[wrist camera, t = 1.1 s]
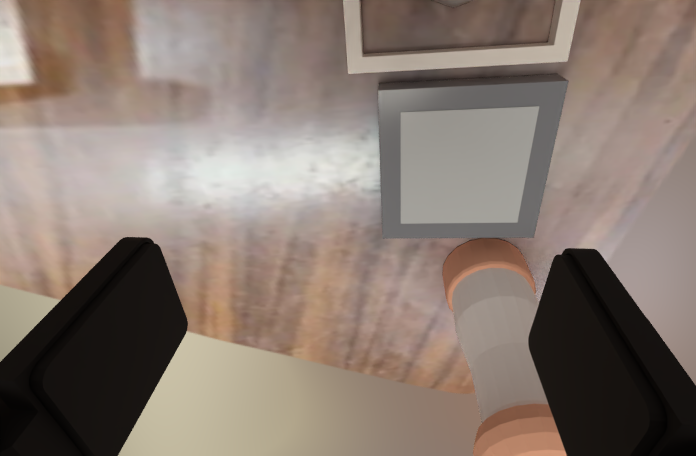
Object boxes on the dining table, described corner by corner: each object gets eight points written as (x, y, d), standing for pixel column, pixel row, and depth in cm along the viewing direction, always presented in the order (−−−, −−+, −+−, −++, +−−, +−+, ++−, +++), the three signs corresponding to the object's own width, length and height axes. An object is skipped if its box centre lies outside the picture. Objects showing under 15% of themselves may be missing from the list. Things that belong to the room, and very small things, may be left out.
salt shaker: (453, 232, 34) (506, 462, 18) (537, 243, 34) (664, 486, 18) (434, 293, 38) (463, 525, 22) (509, 304, 38) (592, 546, 22)
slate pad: (378, 83, 28) (377, 90, 26) (557, 74, 26) (569, 81, 25) (383, 225, 34) (382, 239, 33) (526, 224, 33) (533, 238, 31)
